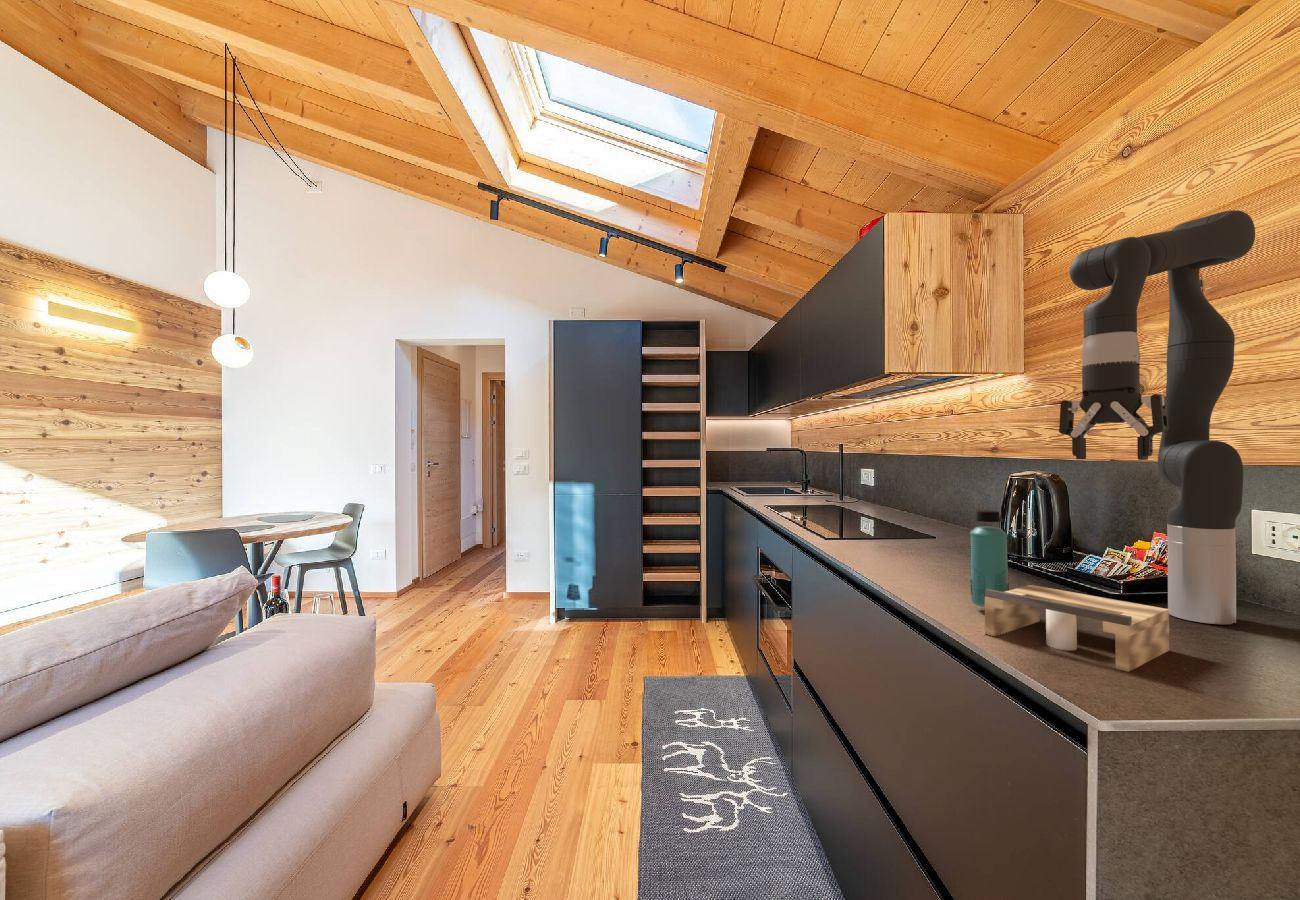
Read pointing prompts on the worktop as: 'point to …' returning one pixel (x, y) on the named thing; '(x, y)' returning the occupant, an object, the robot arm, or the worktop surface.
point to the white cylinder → (1061, 630)
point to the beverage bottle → (988, 558)
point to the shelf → (1132, 623)
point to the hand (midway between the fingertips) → (1111, 459)
